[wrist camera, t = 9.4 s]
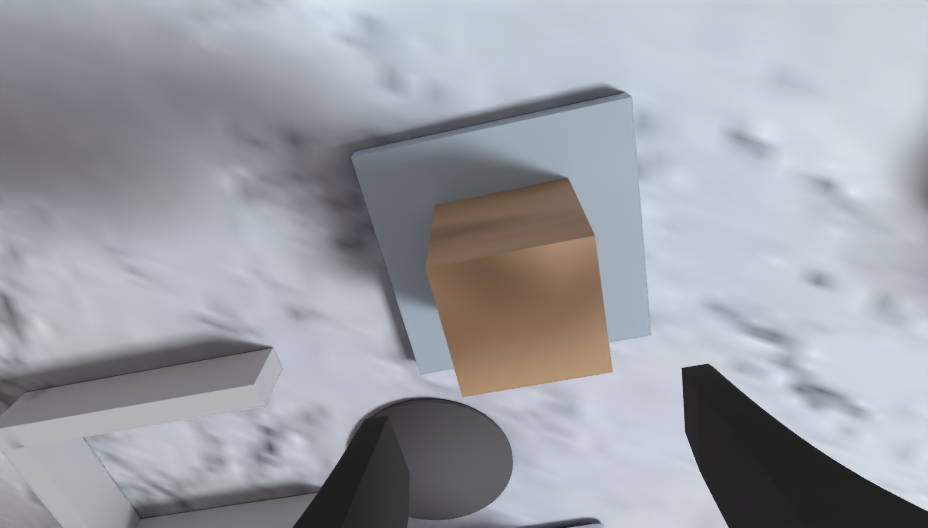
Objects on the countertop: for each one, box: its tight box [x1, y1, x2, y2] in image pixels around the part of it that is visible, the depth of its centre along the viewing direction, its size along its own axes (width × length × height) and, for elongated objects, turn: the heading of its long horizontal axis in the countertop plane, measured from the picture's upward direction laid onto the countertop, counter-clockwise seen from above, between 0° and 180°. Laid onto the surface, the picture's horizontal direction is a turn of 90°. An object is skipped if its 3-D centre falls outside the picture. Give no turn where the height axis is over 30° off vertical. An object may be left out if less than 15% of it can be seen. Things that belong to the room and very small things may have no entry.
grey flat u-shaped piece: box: [0, 348, 317, 528], centre depth 27 cm, size 10×12×2 cm
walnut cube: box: [425, 178, 613, 397], centre depth 20 cm, size 5×5×5 cm
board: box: [351, 93, 651, 374], centre depth 22 cm, size 10×10×1 cm
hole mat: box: [371, 399, 513, 520], centre depth 28 cm, size 8×8×1 cm
